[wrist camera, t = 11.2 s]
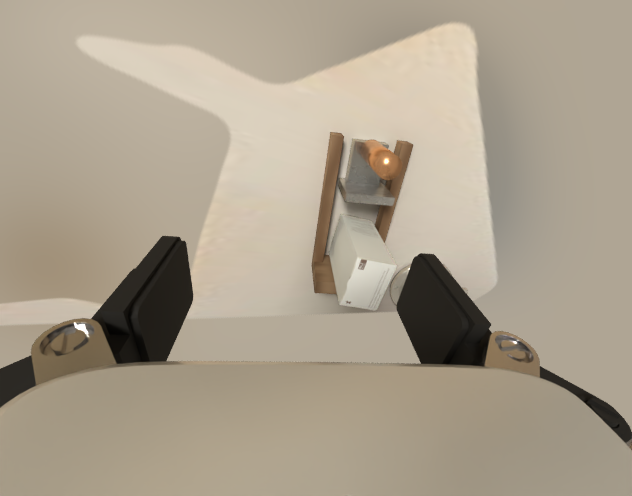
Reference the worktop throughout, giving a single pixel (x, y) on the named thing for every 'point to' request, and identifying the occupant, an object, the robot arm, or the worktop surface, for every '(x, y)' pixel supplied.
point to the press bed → (320, 261)
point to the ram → (369, 173)
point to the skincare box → (360, 263)
